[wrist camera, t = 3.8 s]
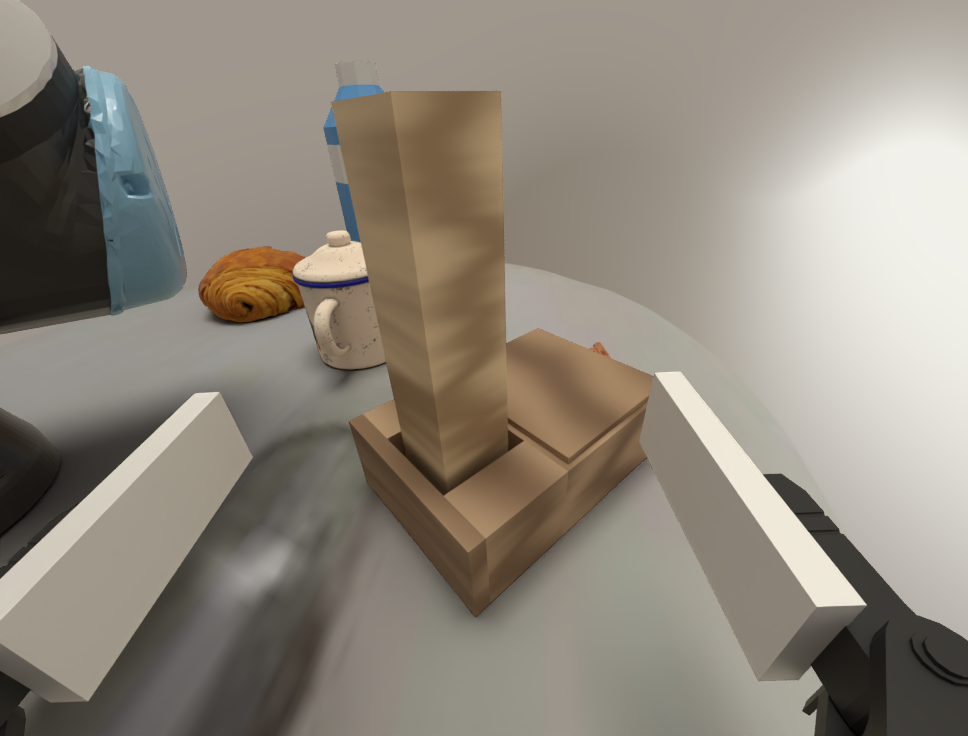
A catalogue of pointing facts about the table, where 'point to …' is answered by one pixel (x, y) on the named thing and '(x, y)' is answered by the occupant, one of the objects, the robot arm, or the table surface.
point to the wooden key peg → (435, 266)
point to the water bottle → (352, 84)
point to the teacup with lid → (340, 303)
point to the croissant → (252, 284)
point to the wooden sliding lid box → (517, 465)
